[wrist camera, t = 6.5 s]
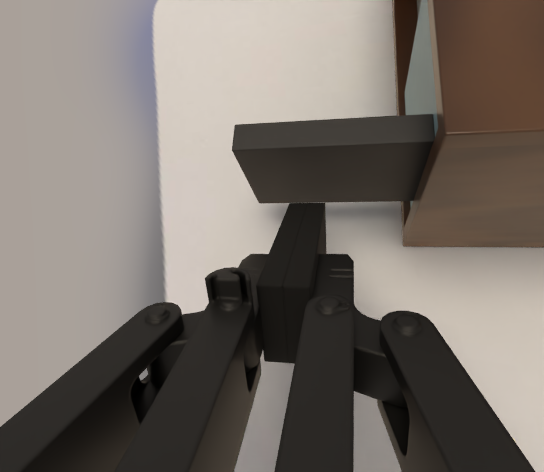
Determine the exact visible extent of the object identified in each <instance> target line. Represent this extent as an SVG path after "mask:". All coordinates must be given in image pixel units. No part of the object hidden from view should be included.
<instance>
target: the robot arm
mask: <svg viewBox="0 0 544 472" xmlns="http://www.w3.org/2000/svg"><path fill="white" fill-rule="evenodd" d="M205 281H206V287H207V293H208V298H209V304H208V305H207V307H206V309H205V310H204V311H201V312H196V313H190V314H184V315H182V313H181V309H180V308H179V306H178V305H176V304H174V303H167V302H163V303H156V304H153V305H150V306H148V307H146V308H144V309H143V310H141V311H140V312H138V313H137V314H136V315H135V316H134V317H132V318H131V319H130V320H129V321H128V322H126V323H125V324H124V325H123V326H122V327H120V328H119V329H118V330H117V331H115V332H114V333H113V334H112V335H111V336H109V337H108V338H107V339H106V340H105V341H103V342H102V343H101V344H100V345H99V346H97V348H95V349H94V350H93V351H91V352H90V353H89V354H88V355H87V356H85V357H84V358H83V359H82V360H81V361H79V362H78V363H77V364H76V365H75V366H73V367H72V368H71V369H70V370H69V371H67V372H66V373H65V374H64V375H62V376H61V377H60V378H59V379H58V380H56V381H55V382H54V383H53V384H52V385H50V386H49V387H48V388H47V389H46V390H45V391H43V392H42V393H41V394H40V395H39V396H37V397H36V398H35V399H34V400H33V401H31V402H30V403H29V404H28V405H26V406H25V407H24V408H23V409H22V410H21V411H19V412H18V413H17V414H16V415H14V416H13V417H12V418H11V419H9V420H8V421H7V422H6V423H5V424H3V425H2V426H1V427H0V472H234V469H235V465H236V462H237V458H238V455H239V451H240V447H241V444H242V440H243V437H244V433H245V429H246V426H247V422H248V419H249V415H250V412H251V408H252V404H253V401H254V397H255V394H256V390H257V386H258V383H259V379H260V376H261V363H260V357H261V354H262V351H264V360H265V361H268V362H283V363H295V366H294V371H293V376H292V382H291V387H290V392H289V397H288V403H287V408H286V413H285V419H284V424H283V429H282V435H281V440H280V445H279V450H278V456H277V461H276V466H275V472H353V440H354V391H355V392H358V393H361V394H364V395H367V396H369V397H372V398H375V399H377V403H378V408H379V410H380V413H381V416H382V418H383V421H384V424H385V426H386V429H387V432H388V435H389V437H390V440H391V443H392V445H393V448H394V451H395V453H396V456H397V459H398V462H399V464H400V467H401V470H402V472H535V470H534V469H533V467H532V466H531V464H530V463H529V462H528V460H527V459H526V457H525V456H524V454H523V453H522V451H521V450H520V449H519V447H518V446H517V444H516V443H515V441H514V440H513V438H512V437H511V436H510V434H509V433H508V431H507V430H506V428H505V427H504V425H503V424H502V422H501V421H500V420H499V418H498V417H497V415H496V414H495V412H494V411H493V409H492V408H491V407H490V405H489V404H488V402H487V401H486V399H485V398H484V396H483V395H482V394H481V392H480V391H479V389H478V388H477V386H476V385H475V383H474V382H473V381H472V379H471V378H470V376H469V375H468V373H467V372H466V370H465V369H464V368H463V366H462V365H461V363H460V362H459V360H458V359H457V357H456V356H455V355H454V353H453V352H452V350H451V349H450V347H449V346H448V344H447V343H446V342H445V340H444V339H443V337H442V336H441V334H440V333H439V331H438V330H437V328H436V327H435V326H434V324H433V323H432V322H431V321H430V320H429V319H428V318H426V317H424V316H422V315H420V314H418V313H414V312H410V311H395V312H391V313H388V314H387V315H385V316H384V317H383V318H382V320H381V321H379V320H375V319H372V318H369V317H367V316H365V315H363V314H361V313H360V312H359V311H358V310H357V309H356V307H355V306H354V261H353V260H352V259H351V258H350V257H349V255H348V254H326V220H325V203H290V204H289V206H288V209H287V211H286V213H285V216H284V218H283V221H282V223H281V226H280V228H279V231H278V233H277V235H276V238H275V240H274V243H273V245H272V248H271V250H270V253H269V254H250V255H249V256H248V257H246V258H245V259H244V260H242V262H241V264H240V265H239V267H238V268H234V267H232V268H223V269H220V270H216V271H214V272H212V273H210V274H209V275H208V276H207V277H206V278H205ZM146 368H147V371H148V375H147V376H146V377H145V378H144V379H143V380H140V378H139V375H140V374H141V373H142V372H143V371H144V370H145V369H146Z"/></svg>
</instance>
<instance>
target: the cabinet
mask: <svg viewBox="0 0 544 472" xmlns="http://www.w3.org/2000/svg"><path fill="white" fill-rule="evenodd" d="M427 2H428V14H429V25H430V37H431V49H432V61H433V73H434V84H435V96H436V108H437V120H438V130H437V133H436V136H435V139H434V142H433V145H432V147H431V150H430V153H429V156H428V159H427V162H426V165H425V168H424V171H423V174H422V177H421V180H420V183H419V186H418V189H417V192H416V195H415V197H414V200H413V203H412V206H410V201H401V212H402V234H403V246H433V247H544V0H427ZM420 5H421V0H392V9H393V31H394V54H395V76H396V99H397V116H402V115H406V112H405V87H406V82H407V76H408V71H409V65H410V60H411V55H412V49H413V44H414V38H415V33H416V27H417V22H418V16H419V11H420Z"/></svg>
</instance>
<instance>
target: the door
mask: <svg viewBox="0 0 544 472" xmlns="http://www.w3.org/2000/svg"><path fill="white" fill-rule="evenodd" d="M405 112H406V115H402V116H384V117H366V118H348V119H330V120H312V121H295V122H277V123H259V124H241V125H235V129H234V138H233V146H232V151H233V153H234V155H235V157H236V159H237V161H238V163H239V165H240V167H241V168H242V170H243V172H244V174H245V176H246V178H247V180H248V182H249V184H250V186H251V188H252V190H253V192H254V194H255V196H256V198H257V200H258V202H259V203H312V202H378V201H410V206H412V203H413V200H414V197H415V195H416V192H417V189H418V186H419V183H420V180H421V177H422V174H423V171H424V168H425V165H426V162H427V159H428V156H429V153H430V150H431V147H432V145H433V142H434V139H435V136H436V133H437V130H438V120H437V108H436V96H435V84H434V73H433V61H432V49H431V37H430V25H429V14H428V2H427V0H421V5H420V11H419V16H418V22H417V27H416V33H415V38H414V44H413V49H412V55H411V60H410V65H409V71H408V76H407V82H406V87H405Z"/></svg>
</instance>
